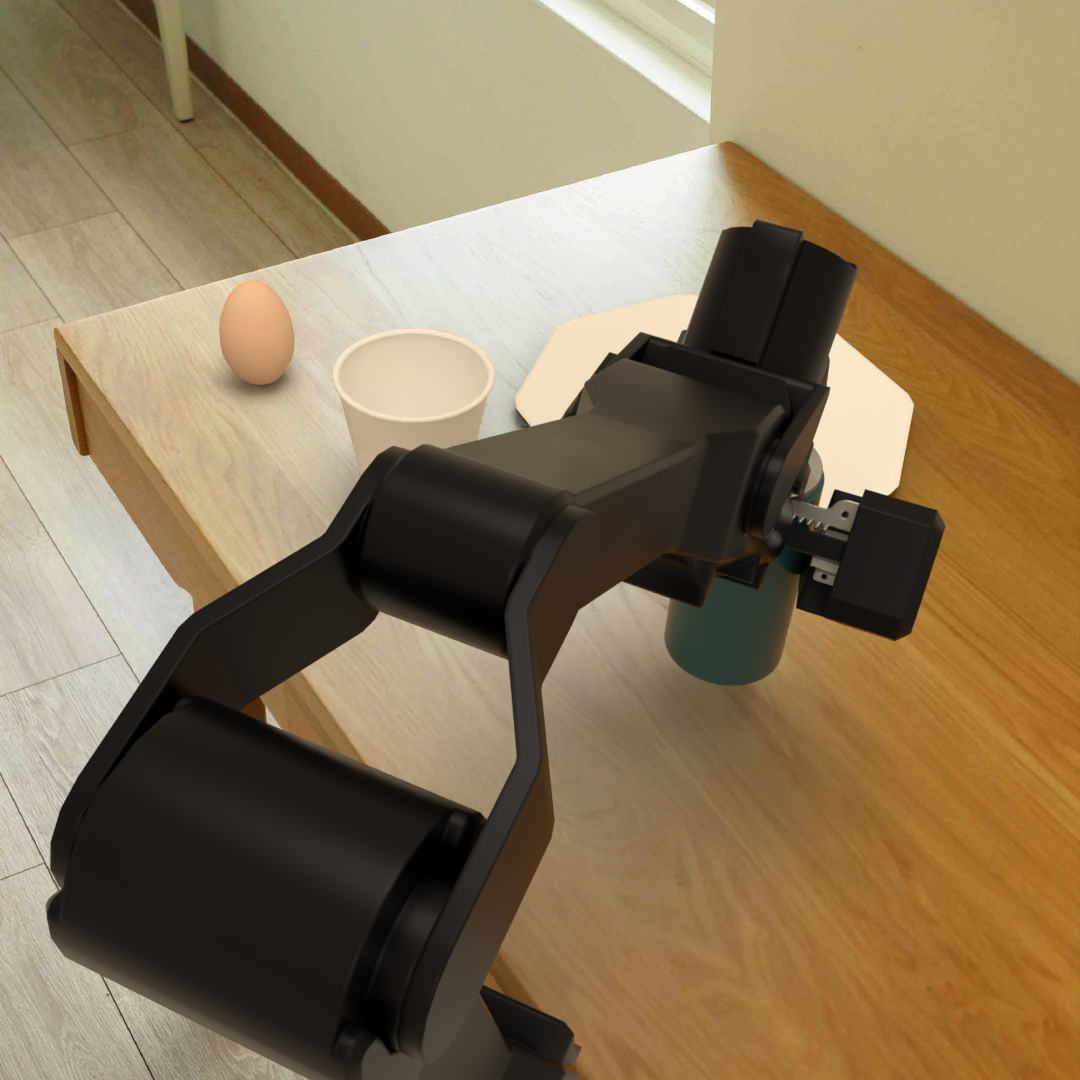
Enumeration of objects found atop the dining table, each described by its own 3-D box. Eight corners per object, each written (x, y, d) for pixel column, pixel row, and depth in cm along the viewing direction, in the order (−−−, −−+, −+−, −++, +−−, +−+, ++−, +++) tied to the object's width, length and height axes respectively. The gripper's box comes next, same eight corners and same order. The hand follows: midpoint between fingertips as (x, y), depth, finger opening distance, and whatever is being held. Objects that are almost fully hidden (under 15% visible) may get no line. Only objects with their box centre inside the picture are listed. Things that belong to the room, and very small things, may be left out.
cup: (330, 555, 86) (319, 415, 78) (351, 458, 93) (343, 322, 86) (486, 564, 86) (490, 425, 78) (494, 467, 93) (499, 332, 86)
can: (799, 678, 73) (847, 495, 65) (683, 693, 72) (716, 507, 64) (760, 595, 78) (800, 414, 70) (650, 608, 77) (677, 424, 68)
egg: (229, 405, 97) (217, 307, 91) (221, 365, 101) (208, 268, 95) (303, 396, 98) (295, 298, 93) (291, 356, 102) (283, 260, 96)
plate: (983, 477, 95) (989, 460, 94) (648, 588, 85) (650, 571, 84) (763, 287, 113) (765, 271, 112) (463, 359, 103) (464, 343, 102)
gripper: (995, 376, 55) (970, 445, 70) (570, 264, 60) (632, 351, 75) (911, 638, 54) (903, 650, 69) (490, 503, 59) (569, 542, 74)
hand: (748, 539), depth 72 cm, fingers closed on can, 6 cm apart
